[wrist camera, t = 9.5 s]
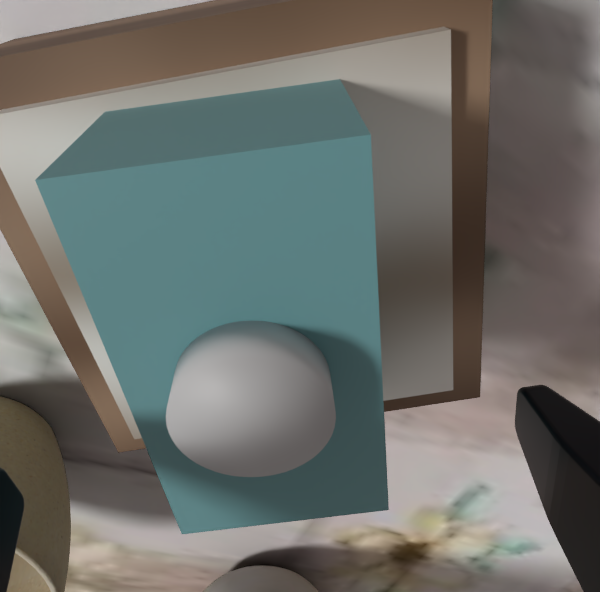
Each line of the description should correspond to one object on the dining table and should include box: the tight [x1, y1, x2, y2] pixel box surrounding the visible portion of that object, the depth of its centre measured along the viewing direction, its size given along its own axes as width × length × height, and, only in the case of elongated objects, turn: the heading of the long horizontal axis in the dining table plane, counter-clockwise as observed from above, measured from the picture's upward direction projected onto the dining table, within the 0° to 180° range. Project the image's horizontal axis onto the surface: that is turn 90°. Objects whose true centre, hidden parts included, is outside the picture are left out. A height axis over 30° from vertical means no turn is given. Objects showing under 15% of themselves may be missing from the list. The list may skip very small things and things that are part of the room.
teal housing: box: [35, 79, 389, 534], centre depth 11 cm, size 5×9×5 cm, turn 7°
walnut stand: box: [0, 0, 493, 453], centre depth 16 cm, size 12×12×6 cm
